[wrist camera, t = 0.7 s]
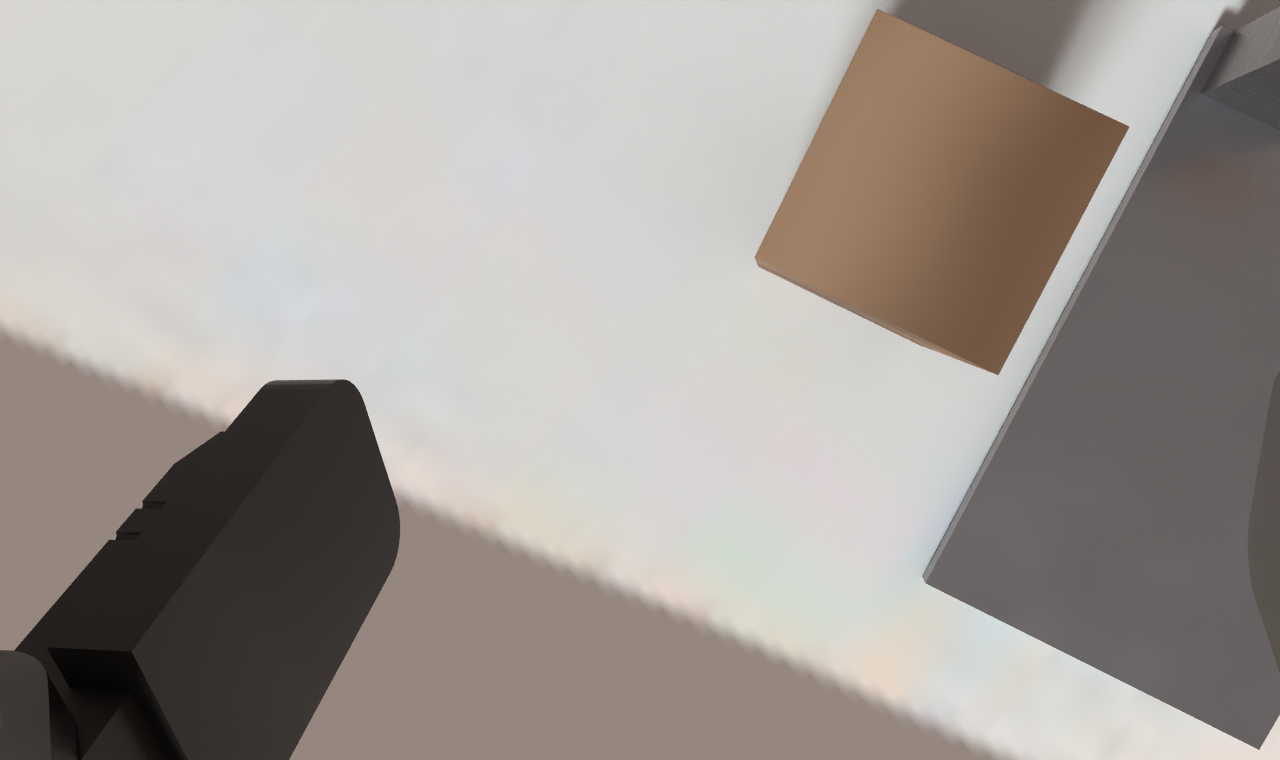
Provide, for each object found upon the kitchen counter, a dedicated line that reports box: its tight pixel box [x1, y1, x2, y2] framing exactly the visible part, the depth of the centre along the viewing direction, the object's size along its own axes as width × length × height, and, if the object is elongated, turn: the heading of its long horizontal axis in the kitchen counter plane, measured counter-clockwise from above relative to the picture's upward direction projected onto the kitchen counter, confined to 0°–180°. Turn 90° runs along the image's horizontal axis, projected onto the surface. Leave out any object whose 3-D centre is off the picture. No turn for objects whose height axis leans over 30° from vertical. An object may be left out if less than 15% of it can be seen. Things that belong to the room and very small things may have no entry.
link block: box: [755, 9, 1129, 375], centre depth 24 cm, size 4×4×10 cm
